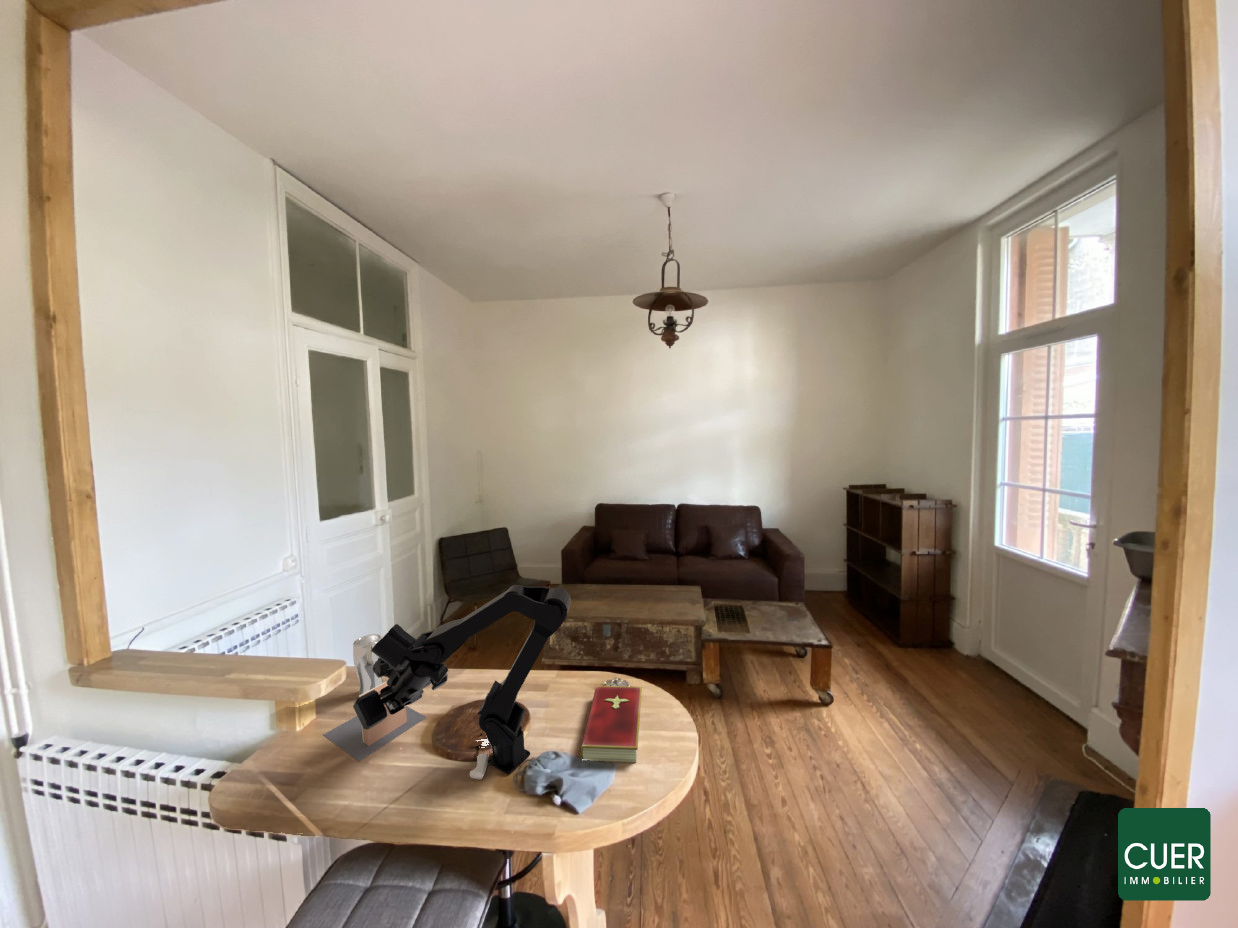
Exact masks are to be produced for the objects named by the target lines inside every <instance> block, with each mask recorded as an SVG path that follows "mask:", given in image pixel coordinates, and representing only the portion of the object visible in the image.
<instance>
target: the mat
mask: <svg viewBox="0 0 1238 928" xmlns="http://www.w3.org/2000/svg"><path fill="white" fill-rule="evenodd" d="M406 717H407V722H406V723H404V724H403V725H401V726H400V727H398V728H396V729H395V730H393V731H392V732H390V733H389V734H387V735H385V736H384V737H382V738H381V739H379V740H377V741H376V742H374V743H373V744H371V745H369V746H368V745H367V744H365V743H364V742H363V736H362V726H361V722H360V720H359V718H358V716H357V715H355V716H354V717H352V718H351V719H349V720H347V721H345V722H344V723H341V724H340V725H338V726H335V728H332V729H331V730H328V731H327V732H325V733H324V734H322V736H324V737H325V738H326V739H327V740H329V741H330V742H332V743H333V744H334V745H336V746H337V747H338V748H340V749H341V750H342V751H344V752H345V753H347V754H348V755H349V756H351V757H352V758H353V759H355V760H356V761H358V762H361V761H362V760H364V759H365V758H367V757H369V756H370V755H372V754H373V753H375V752H376V751H378V750H380V749H381V748H382V747H384V746H385V745H387V744H389V743H390V742H392V741H394V740H395V739H396V738H398V737H399V736H401V735H403V734H404V733H406V732H407V731H408V730H410V729H411V728H413V727H415V726H416V725H418V724H420V723H421V722H423V721H424V720H427V718H428V716H426V715H425V714H422V713H420V712H418V711H416V710H414V709H413V708H412V707H409V706H408V705H406Z"/></svg>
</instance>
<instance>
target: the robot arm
mask: <svg viewBox="0 0 1238 928" xmlns="http://www.w3.org/2000/svg"><path fill="white" fill-rule="evenodd" d="M571 603H572V598H571V594H570V593H569V592H568V590H566V589H565V588H562V587H560V586H554V587H551V588H550V587H547V586H527V585H523V584H513V585H511V586H510V587H509V588H508V589H507V590H506V591H504V592H502V593H501V594H499V595H498V596H495V597H494V598H493V599H492V600H490V601H488V602H486V603H485V604H483V605H482V606H480V607H479V608H477V609H475V610H474V611H473V612H471V613H469V614H468V615H466V616H464V617H462V618H460V619H455V620H454V619H453V620H450V621H449V622H446V623H443V624H441V625H439V626H437V628H436V629H434V630H430V631H427V632H422V633H420V635H419V636H418V637H417V638H415V637H414V636H413V635H411V634H410V633H408V632H407V631H406V630H404V629H403V627H402V626H400V625H399V624H398V623H395V624H394V625H393V626H392V627H391V628H390V629H389V630H388V632H387V633H386V634H384V635H383V636H382V637H381V640H380V641H378V642H377V643H376V645H375V646H374V647H373V648H372V650H371V652H373V653H374V654H375V655H377V656H378V657H379V658H378V660H377V661H376V662H375V664H374V665H373V672H374V673H375V674H376V675H377V677H378V678H380V677H382V678H383V677H385V678H388V679H387V680H386V681H387V682H386V681H385V682H386V683H387V685H388V686H386V687H384V688H383V689H381V691H380V694H378V692H377V691H375V690H372V691H370V692H369V693H367V694H365V695H363V696H361V697H359V696H358V698H356V699H355V701H354V703H353V705H352V707H353V710H354V711H355V714H356V716H358V718H359V720H360V722H361V724H362V726H363V728H364V729H366V730H368V729H370V728H372V727H373V726H375V725H377V724H378V723H380V722H381V721H383V720H384V719H385V718H386V717H387V710H386V708H385V706H384V705H386V707H387V709H388V711H389V713H390V714H391V715H393V714H395V713H397V712H399V711H400V710H402V709H404V708H405V707H404V706H409V705H412V704H414V703H415V702H417V701H418V700H420V699H421V698H422V697H423V694H424V693H425V691H424V690H423V689H425V688H427V687H429V686H430V685H432V686H431V690H432V691H436V689H439V688H440V687H441V686H444V685H445V684H446V682H447V681H448V672H449V668H448V667H447V665H445V662H446V661H447V660H448V659H449V658H451V656H452V655H454V653H455V652H457V651H458V649H460V648H461V647H462V645H463V644H465V643H466V642H467V641H468V640H469V639H470V638H472V637H474V636H475V635H477V634H479V633H481V632H482V631H483V630H484V629H486V628H488V627H489V626H491V625H493V624H494V623H496V622H498V621H499V620H501V619H502V618H503V617H505V616H506V615H508V614H510V613H512V612H514V613H515V612H516V613H518V614H521V615H523V616H524V617H526V618H529V619H530V620H534V623H533V627H532V629H531V631H530V632H529V635H528V637H527V639H526V640H525V642H524V644H523V646H522V647H521V650H520V651H519V653H518V655H517V657H516V659H515V660H514V663H513V664H512V665H511V668H510V670H509V671H508V674H507V675H506V677H505V678H504V680H502V681H501V682H499V681H497V680H494V681H493V684H492V685H491V687H490V690H489V691H488V692H487V694H486V696H485V698H484V700H483V702H482V704H481V706H480V708H479V710H478V712H477V715H479V718H478V721H477V723H478V725H479V728H480V729H481V730H482V732H483V731H484V732H485V734H486V737H487V739H488V741H489V743H490V745H491V752H492V751H493V753H492V756H491V757H490V756H489V758H488V763H487V765H490V766H492V767H493V768H495V769H497V770H498V771H501V772H503V773H504V774H506V775H510V774H512V773H513V772H514V771H515V770H516V769H517V768H518V767H519V766H520V765H521V764H522V763H523V762H524V761H526V759H528V758H529V757H530V755H531V751H530V750H528V749H526V748H525V737H524V735H525V734H524V730H522V726H521V724H522V720H523V719H524V715H525V712H526V709H525V708H524V707H523V706H522V705H521V704H520V703H518V702H517V701H516V700H517V698H518V694H519V691H520V690H521V689H522V687H523V686H524V685H523V684H524V683H525V681H526V679H527V677H528V676H529V674H530V672H531V671H532V668H533V667H534V664H535V662H536V661H537V659H538V657H539V656H540V654H541V652H542V650H543V648H544V647H545V645H546V643H547V642H548V640H549V638H551V637H552V636H553V635H554V634H555V633H556V632H557V631H558V630H559V629H560V628H561V626H562V625H563V624H564V622H565V621H566V619H567V617H568V614H569V610H570V607H571ZM381 698H382V699H381Z"/></svg>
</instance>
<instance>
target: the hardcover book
mask: <svg viewBox="0 0 1238 928" xmlns="http://www.w3.org/2000/svg"><path fill="white" fill-rule="evenodd" d="M642 689H643V686H624V685H623V686H622V685H620V686H618V685H617V686H616V685H614V686H613V685H597V686H596V687H595V688H594V693H593V697H592V701H591V706H590V710H589V714H588V718H587V721H586V726H585V730H584V735H583V738H582V742H581V747H580V753H579V755H580V760H581V759H587V760H590V761H589V762H612V763H613V762H616V763H618V762H619V763H637V756H638V748H639V737H640V735H639V734H640V719H641V705H642V703H641V702H642V694H643V693H642ZM587 760H586V761H587Z"/></svg>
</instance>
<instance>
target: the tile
mask: <svg viewBox="0 0 1238 928" xmlns="http://www.w3.org/2000/svg"><path fill="white" fill-rule="evenodd" d="M387 681H388V680H386V681H383V683H382V684H380V685H378V686H377V687H375V688H373V689H371V690H369V691H367V692H365V693H363V694H361V695H359V694H358V698H359V697H361V696H363V695H365V694H367V693H369V692H370V691H372V690H375V691H377V692H378V694H380V691H381V689H383V688H384V687H386V686H388V685H387V683H386V682H387ZM381 699H382V698H381ZM384 706H385V708H386V710H387V717H386V718H385V719H384V720H383V721H381V722H380V723H378V724H377V725H375V726H373V727H372V728H370V729H368V730H366V729H364V728H363V726H362V724H361V726H362V736H363V742H364V743H365V744H367V745H368V746H369V745H371V744H373V743H374V742H376V741H377V740H379V739H381V738H382V737H384V736H385V735H387V734H389V733H390V732H392V731H393V730H395V729H396V728H398V727H400V726H401V725H403V724H404V723H406V722H407V717H406V706H407V705H406V706H404V707H405V708H404V709H402V710H400V711H399V712H397V713H395V714H393V715H391V714H390V713H389V711H388V709H387V707H386V705H384Z"/></svg>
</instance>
